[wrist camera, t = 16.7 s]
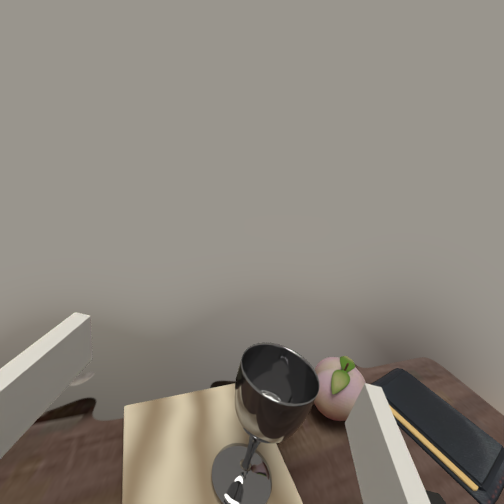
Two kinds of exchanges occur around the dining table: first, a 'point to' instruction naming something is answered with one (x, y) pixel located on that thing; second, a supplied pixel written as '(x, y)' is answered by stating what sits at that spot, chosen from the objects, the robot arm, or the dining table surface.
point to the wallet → (446, 435)
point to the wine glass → (263, 418)
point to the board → (188, 449)
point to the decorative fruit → (338, 387)
